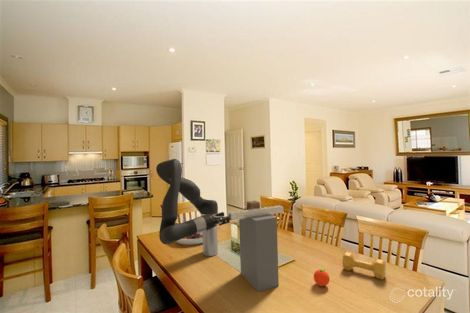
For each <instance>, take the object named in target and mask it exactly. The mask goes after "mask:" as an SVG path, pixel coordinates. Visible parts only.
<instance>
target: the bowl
mask: <svg viewBox="0 0 470 313" xmlns="http://www.w3.org/2000/svg"><path fill="white" fill-rule="evenodd" d="M175 243H178V244H179V245H186V246H194V245H195V246H196V245H201V244H203V237H202V233H199V234H195V235H193V236H190V237H185V238H182V239H180V240H178V241H175Z"/></svg>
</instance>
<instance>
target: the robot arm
mask: <svg viewBox="0 0 470 313" xmlns="http://www.w3.org/2000/svg"><path fill="white" fill-rule="evenodd" d="M182 168H183V166H182V163H181V162H180V160H178V159H176V158H171V159H169V160H165V161H162V162H160V163H158V164H157V165H156V174H157V176H158V177H159V178H160V179H161V180H162V181H164V182H165V183H167V185H169V188H168V189H167V191H166V193H165V196H164V197H163V200H162V204H161V221H160V226H159V227H160V228H159V235H158V237H159V241H160V242H161V243H162V244H163V245H166V246H167V245H170V244H172V243H176V241H178V240H180V239H182V238H185V237H190V236H193V235H195V234H199V233H202V237H203V243H202V254H203V255H204V256H205V257H215V256H216V255H218V254H219V248H218V244H219V243H218V226H222V225H227V224H228V223H231V220H229V215H226V216H225V212H223V211H222V212H219V207H218V202H217V201H216V200H213V199H205V198H203V197H202V196H201V189H200V188H199V186H198V185H197V184H196V183H195V182H194V181H192V180H191V179H188V178H184V177H182V176H183V174H182V173H183V169H182ZM179 194H181V196H182V197H184V199H186V200H187V201H188V202H190V204H192V206H194V208H196V210H197V211H198V212H199V213H200V214H201V216H196V217H194V218H193V219H189V220H186V221H184V222H180V223H176V222H177V220H178V216H179V214H178V212H179V211H178V210H179V209H178V208H179V205H178V203H179V202H178V200H179Z"/></svg>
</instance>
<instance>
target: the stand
mask: <svg viewBox="0 0 470 313" xmlns="http://www.w3.org/2000/svg"><path fill="white" fill-rule="evenodd" d="M238 221H239V222H238V224H239V228H238V229H239V251H240V252H239V255H240V257H239V258H240V274H241V275H242V277H243V278H244V279H245V280H246V281H247V282H248V283H249V285H250V286H251V287H252V288H254V290H255V291H256V292H257V293H260V292H263V291H265V290H268V289H269V290H270V289H272V288H276V287H279V282H280V281H279V255H278V254H279V250H278V248H279V247H278V218H277V216H274V214H271V215H265V216H258V217H252V218H245V219H239V220H238Z"/></svg>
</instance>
